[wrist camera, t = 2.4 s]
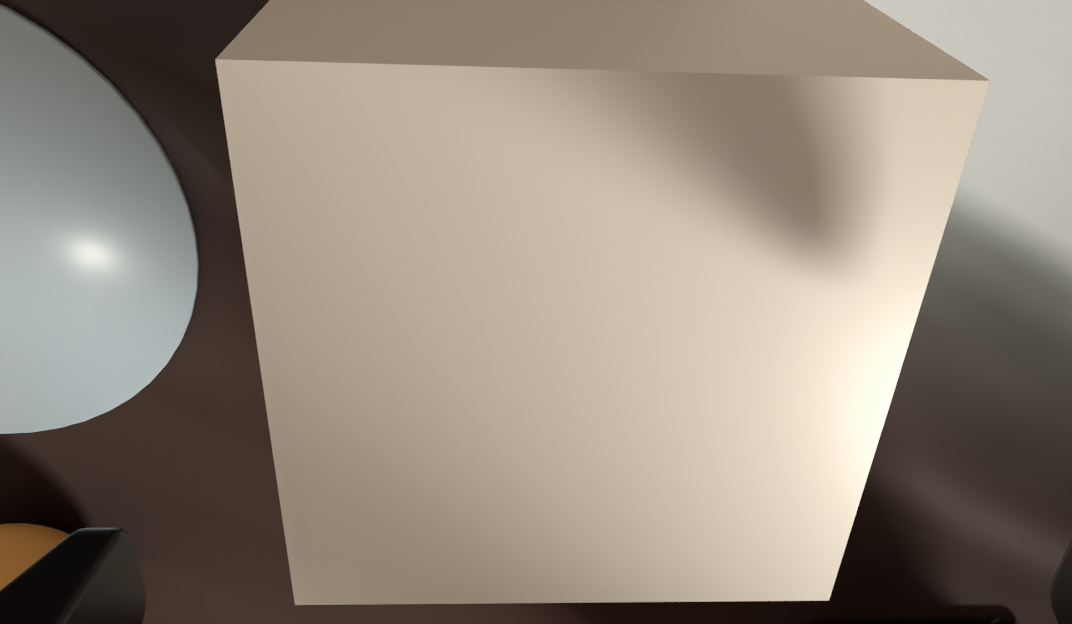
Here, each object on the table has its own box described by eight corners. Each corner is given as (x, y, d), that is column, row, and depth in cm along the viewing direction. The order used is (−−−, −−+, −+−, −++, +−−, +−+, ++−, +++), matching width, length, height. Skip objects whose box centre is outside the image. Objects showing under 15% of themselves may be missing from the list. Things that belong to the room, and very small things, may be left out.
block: (776, -55, 16) (990, 80, 9) (713, 316, 20) (828, 600, 13) (335, -71, 15) (215, 58, 8) (362, 312, 19) (294, 604, 12)
